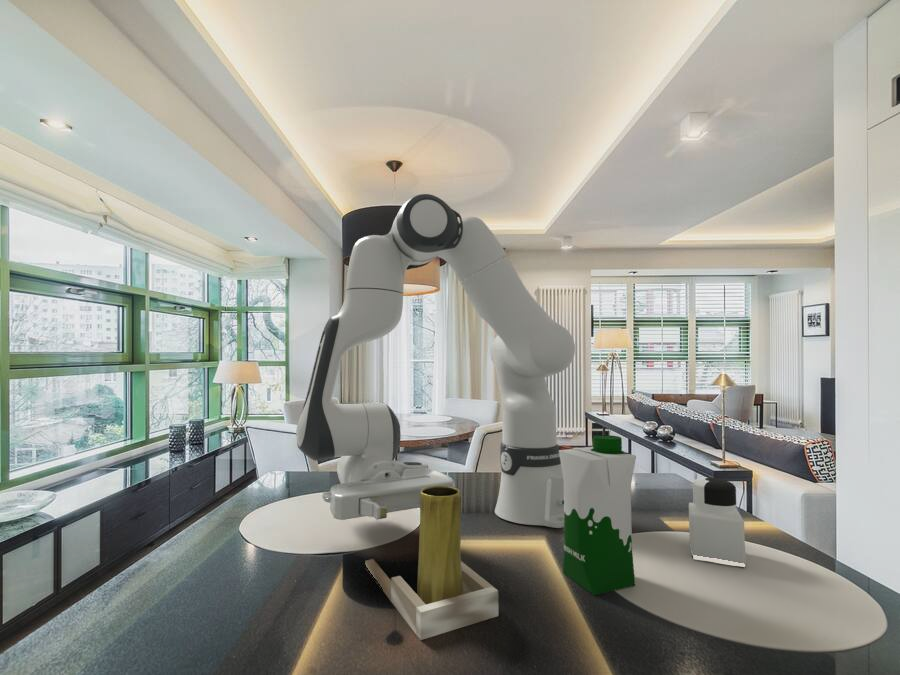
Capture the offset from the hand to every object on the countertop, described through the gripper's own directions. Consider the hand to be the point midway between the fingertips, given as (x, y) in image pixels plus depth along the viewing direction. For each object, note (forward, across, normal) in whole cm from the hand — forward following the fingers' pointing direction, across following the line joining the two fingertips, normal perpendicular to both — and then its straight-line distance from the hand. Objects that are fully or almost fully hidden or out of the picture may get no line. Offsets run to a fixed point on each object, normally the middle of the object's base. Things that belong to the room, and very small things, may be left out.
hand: (412, 508), depth 66 cm
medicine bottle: (+17, +46, +10) cm, 50 cm away
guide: (+5, 0, +9) cm, 11 cm away
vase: (+9, 0, +10) cm, 13 cm away
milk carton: (+14, +23, +10) cm, 28 cm away
